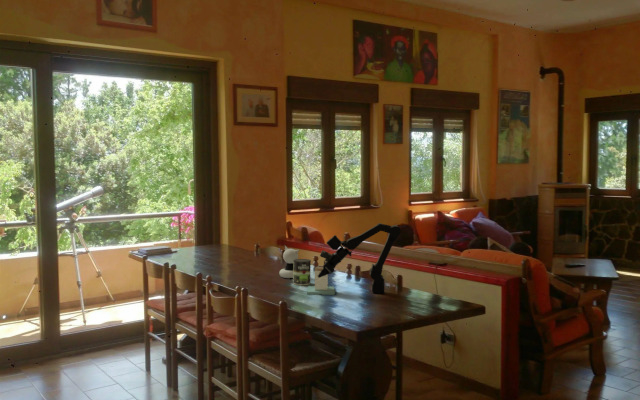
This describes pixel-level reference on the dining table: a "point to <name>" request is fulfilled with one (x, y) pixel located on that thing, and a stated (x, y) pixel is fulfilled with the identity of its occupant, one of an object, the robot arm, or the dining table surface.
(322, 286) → the beige rectangular block
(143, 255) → the dining table surface
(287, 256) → the decorative figurine
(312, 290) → the base block
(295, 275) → the coffee can
